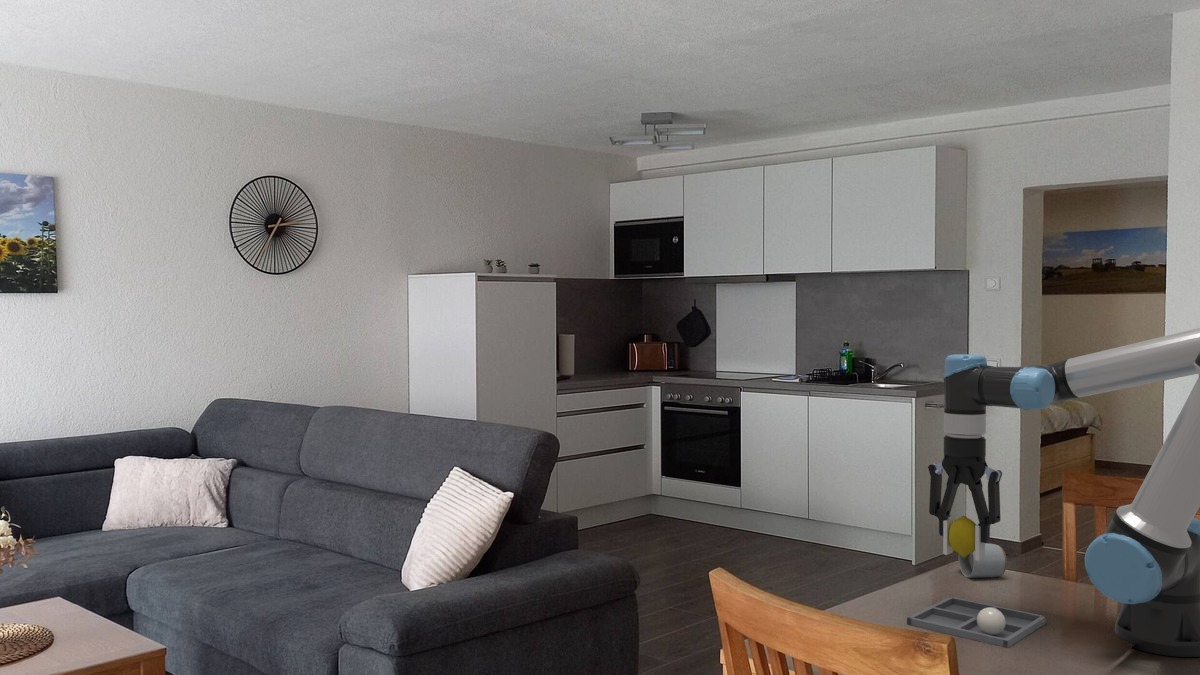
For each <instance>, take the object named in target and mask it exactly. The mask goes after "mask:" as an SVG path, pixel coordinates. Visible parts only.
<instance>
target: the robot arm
mask: <svg viewBox="0 0 1200 675" xmlns="http://www.w3.org/2000/svg"><path fill="white" fill-rule="evenodd" d="M943 373H944V374H943V375H944V376H943V377H942V378H943V387H944V388H943V390H944V392H943V394H944V398H943V402H944V408H943V410H944V412H943V432H944V433H945V434H946V435H945V436H944V437H943V459H942V460H941V462H939V463H936V462H935V463H932V464H929V465H928V466H927V467H928V472H929V475H930V483H929V484H930V486H929V502H928V503H929V504H928V505H929V506H928V507H929V509H928V513H929V515H931V516H934V517H936V518H937V519H938V534H939V536H941V537H942V538H943V539H942V541H943V542H942V547H943V548H942V555H945V556H947V555H950V554H953V553H954V550H953V548H952V547H951V545H950V542H949V530H950V526H951V524H952V523H953V522H954V519H953V518H950V517H952V515H951V511H952V508H953V505H954V502H955V499H956V495H957V492H958V488H959V486H960V485H961V484H963V485H965V486H967V487H968V489H969V491H970V494H971V497H972V501H973V504H974V508H975V512H976V515H977V520H978V523H977V524H976V526H975V560H978V561H979V560H982V559H984V558H985V543H990V540H991V525H994V524H997V523H999V522H1001V500H1000V499H1001V496H1000V482H1001V479H1002V476H1003V471H1002V470H1000V469H997V470H995V469H993V468H991V467H989V466H988V463H987V461H986V457H987V456H986V451H987V446H986V444H987V442H986V441H987V439H986V438H985V435H986V433H987V432H986V431H987V427H986V426H987V419H986V418H987V417H986V416H987V407H999V408H1001V407H1003V408H1012V409H1023V410H1024V411H1029V410H1045V409H1047V408H1049V406H1050V404H1051V405H1053V404H1054V405H1056V404H1062V403H1064V402H1067V401H1070V400H1075V399H1080V398H1084V397H1088V396H1093V395H1099V394H1104V393H1108V392H1109V393H1110V392H1114V391H1115V392H1116V391H1118V390H1125V389H1128V388H1134V387H1139V386H1143V385H1148V384H1154V383H1159V382H1164V381H1169V380H1173V379H1179V378H1183V377H1188V376H1193V375H1198V377H1197V380H1196V381H1195V384H1194V385H1193V387H1192V390H1191V391H1190V393H1189V394H1188V397H1186V401H1185V403H1184V404H1183V406H1182V408H1181V410H1180V411H1179V414H1178V416H1177V418H1176V419H1175V421H1174V424H1173V425H1172V427H1171V429H1170V430H1169V433H1168V434H1167V436H1166V438H1165V440H1164V442H1163V444H1162V446H1161V447H1160V450H1159V451H1158V453H1157V455H1156V457H1155V458H1154V461H1153V462H1152V465H1151V467H1150V469H1149V470H1148V472H1147V474H1146V476H1145V478H1144V479H1143V481H1142V483H1141V485H1140V487H1139V489H1138V491H1137V493H1136V495H1135V497H1134V499H1133V501H1132V502H1131V503H1130V504H1126V505H1120V506H1118V507H1117V509H1116V511H1115V512H1114V514H1113V516H1112V518H1111V520H1110V522H1109V524H1108V525H1107V527H1106V529H1105V531H1104V533H1103V534H1100V535H1098V536H1097V537H1096V538H1094V539H1093V541H1091V543H1090V544H1089V545H1088V547H1087V549H1086V551H1085V555H1084V566H1085V567H1084V568H1085V571H1086V572H1087V575H1088V577H1089V580H1090V582H1091V583H1092V585H1093V586H1094V587H1095V588H1096V589H1097V590H1098V592H1100V593H1101V594H1103V595H1104V596H1105V597H1106V598H1108V599H1110V600H1111V601H1114V602H1117V603H1121V604H1122V605H1121V607H1120V611H1119V612H1118V615H1117V618H1116V621H1115V624H1114V633H1115V635H1116V636H1117V637H1118V638H1120V639H1122V640H1124V641H1125V642H1126V641H1127V642H1128V643H1131V644H1133V645H1132V646H1131V648H1132V649H1136V650H1139V651H1142V652H1146V653H1149V654H1150V653H1152V654H1156V655H1160V656H1161V655H1162V656H1168V657H1178V658H1179V657H1180V658H1197V657H1200V519H1198V518H1195V516H1196V514H1197V513H1198V510H1199V508H1200V327H1197V328H1194V329H1188V330H1185V331H1182V332H1181V331H1180V332H1176V333H1173V334H1168V335H1164V336H1159V337H1156V338H1152V339H1147V340H1143V341H1142V340H1141V341H1139V342H1134V343H1130V344H1127V345H1121V346H1119V347H1113V348H1109V349H1105V350H1101V351H1097V352H1094V353H1087V354H1084V355H1079V356H1076V357H1070V358H1068V359H1062V360H1058V361H1053V362H1050V363H1044V364H1040V365H1035V364H1034V365H1024V366H993V365H988V362H987V357H986V356H985V355H983V354H968V353H967V354H957V353H956V354H950V355H947V357H946V358H945V360H944V371H943ZM944 471H945V473H946V475H947V477H948V478H947V481H946V484H945V485H946V488H945V491H944V494H943V497H942V487H943V486H942V484H943V475H942V474H944ZM985 474H986V480H987V495H988V496H987V501H986V498H985V494H984V491H983V486H984V485H983V483H982V478H983V477H984V475H985ZM987 502H988V504H987Z"/></svg>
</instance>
